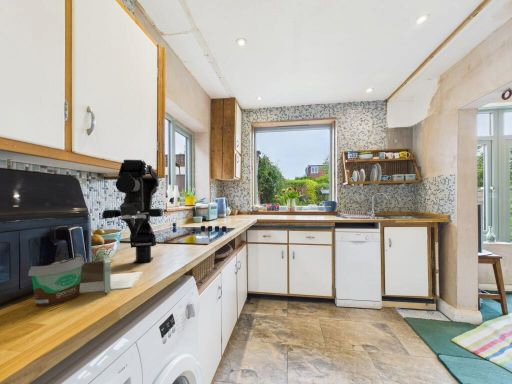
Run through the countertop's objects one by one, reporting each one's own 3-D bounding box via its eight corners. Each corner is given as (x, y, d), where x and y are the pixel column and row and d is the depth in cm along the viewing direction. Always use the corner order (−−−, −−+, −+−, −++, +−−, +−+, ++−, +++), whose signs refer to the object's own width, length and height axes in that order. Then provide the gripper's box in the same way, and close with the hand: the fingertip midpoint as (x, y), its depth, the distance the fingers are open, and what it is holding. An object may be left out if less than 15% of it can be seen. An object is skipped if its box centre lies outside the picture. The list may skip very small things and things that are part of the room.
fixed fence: (79, 282, 72) (79, 255, 72) (108, 279, 73) (108, 253, 74) (76, 284, 70) (77, 256, 70) (106, 281, 72) (106, 254, 72)
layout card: (85, 277, 77) (85, 276, 77) (142, 272, 81) (142, 271, 81) (59, 295, 62) (59, 293, 62) (131, 288, 67) (131, 286, 67)
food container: (49, 312, 53) (48, 268, 53) (28, 309, 54) (27, 267, 54) (96, 289, 65) (96, 254, 65) (78, 287, 66) (78, 252, 66)
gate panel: (108, 279, 72) (108, 253, 73) (110, 291, 63) (110, 261, 63) (103, 280, 72) (103, 254, 72) (104, 293, 62) (104, 262, 62)
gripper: (95, 193, 74) (95, 243, 73) (157, 193, 78) (158, 239, 78) (108, 194, 84) (108, 237, 84) (162, 194, 89) (163, 234, 88)
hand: (134, 237), depth 83 cm, fingers closed
